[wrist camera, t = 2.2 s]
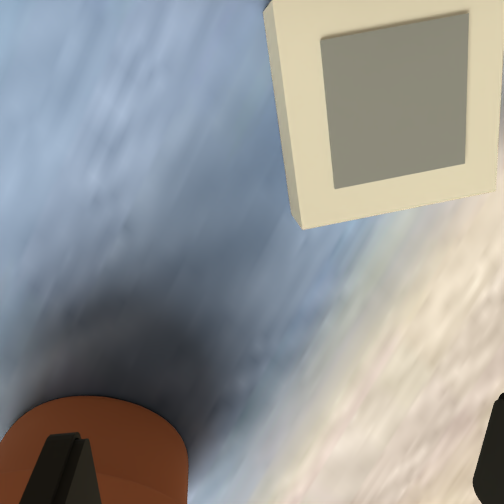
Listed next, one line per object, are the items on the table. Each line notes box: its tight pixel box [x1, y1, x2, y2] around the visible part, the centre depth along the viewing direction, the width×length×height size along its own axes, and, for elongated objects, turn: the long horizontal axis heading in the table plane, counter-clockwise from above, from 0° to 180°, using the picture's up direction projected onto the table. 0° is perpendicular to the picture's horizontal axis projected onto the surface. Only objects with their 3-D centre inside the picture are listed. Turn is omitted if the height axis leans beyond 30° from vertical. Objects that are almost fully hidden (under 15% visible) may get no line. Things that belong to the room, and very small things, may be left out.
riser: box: [263, 0, 504, 230], centre depth 28 cm, size 14×14×4 cm
